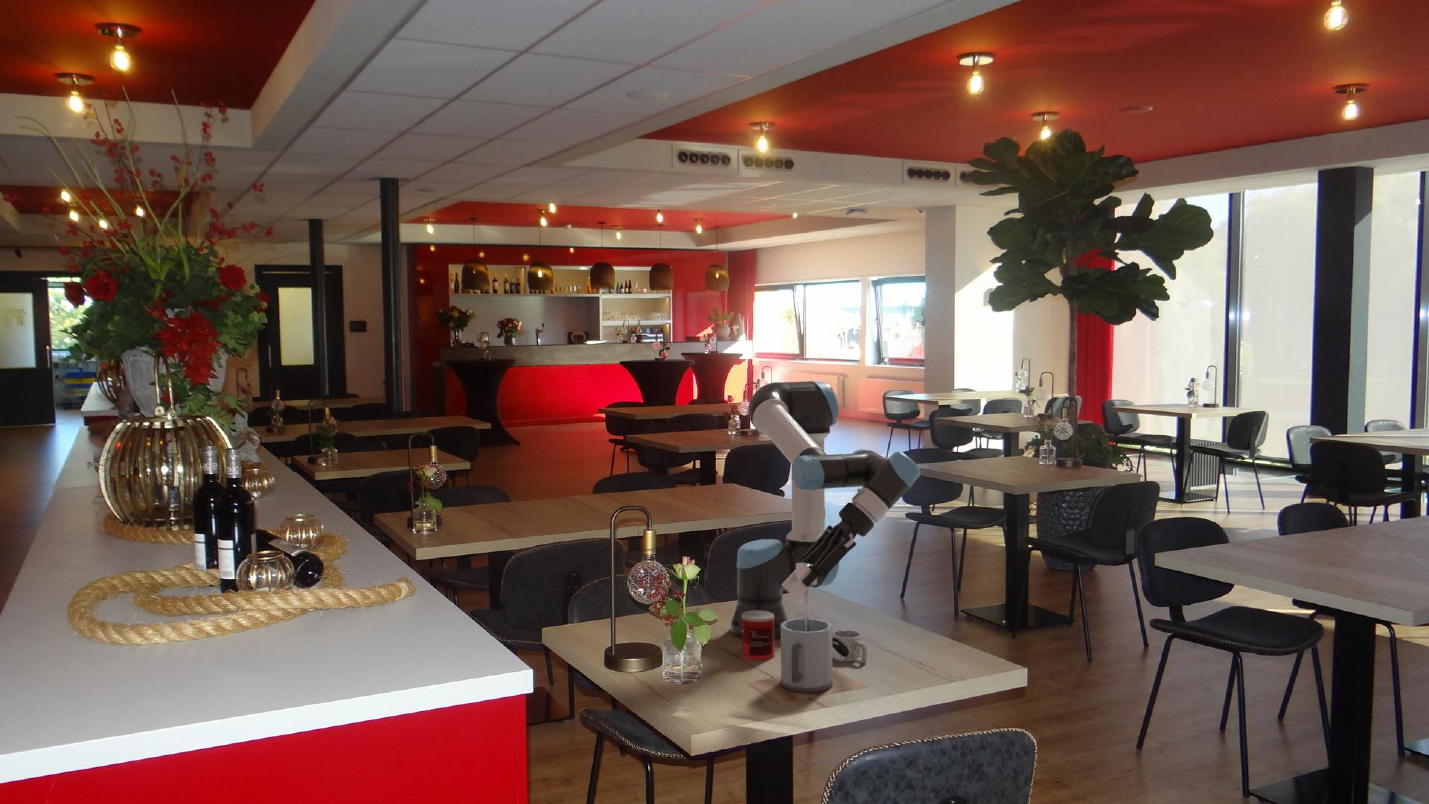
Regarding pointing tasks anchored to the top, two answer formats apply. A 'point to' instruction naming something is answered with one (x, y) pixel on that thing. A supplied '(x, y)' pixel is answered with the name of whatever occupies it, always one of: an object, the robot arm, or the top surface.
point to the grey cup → (806, 656)
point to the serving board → (781, 695)
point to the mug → (848, 646)
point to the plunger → (799, 572)
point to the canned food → (758, 635)
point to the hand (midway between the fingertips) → (789, 592)
